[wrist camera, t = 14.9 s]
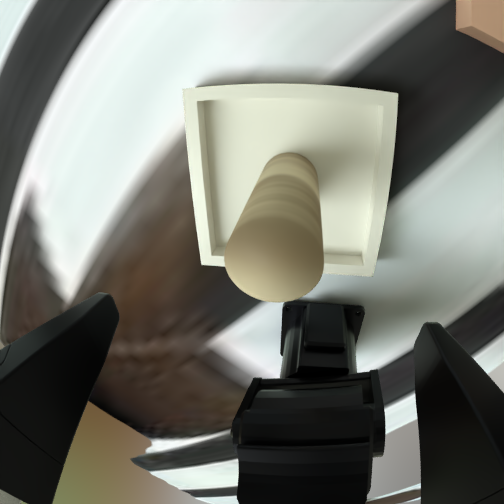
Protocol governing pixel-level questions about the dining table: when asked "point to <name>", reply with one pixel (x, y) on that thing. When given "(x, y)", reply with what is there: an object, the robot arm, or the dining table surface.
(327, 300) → the dining table surface
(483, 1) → the peach rectangular block
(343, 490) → the robot arm
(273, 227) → the dowel
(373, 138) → the tray
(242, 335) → the dining table surface
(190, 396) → the dining table surface
